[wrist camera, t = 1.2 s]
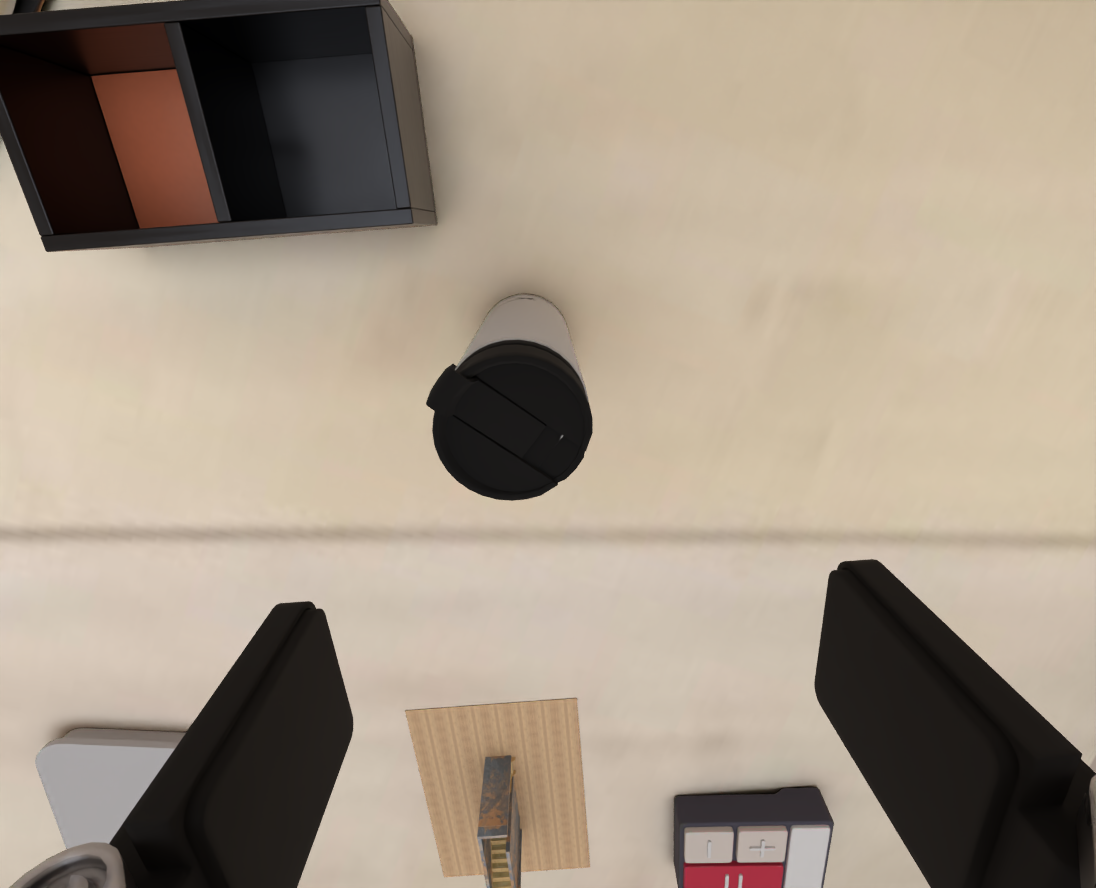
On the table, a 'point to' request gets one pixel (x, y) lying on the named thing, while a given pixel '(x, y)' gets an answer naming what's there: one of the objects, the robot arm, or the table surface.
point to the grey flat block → (100, 778)
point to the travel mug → (513, 404)
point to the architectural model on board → (503, 787)
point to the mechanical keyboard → (20, 6)
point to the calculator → (752, 840)
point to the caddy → (214, 121)
